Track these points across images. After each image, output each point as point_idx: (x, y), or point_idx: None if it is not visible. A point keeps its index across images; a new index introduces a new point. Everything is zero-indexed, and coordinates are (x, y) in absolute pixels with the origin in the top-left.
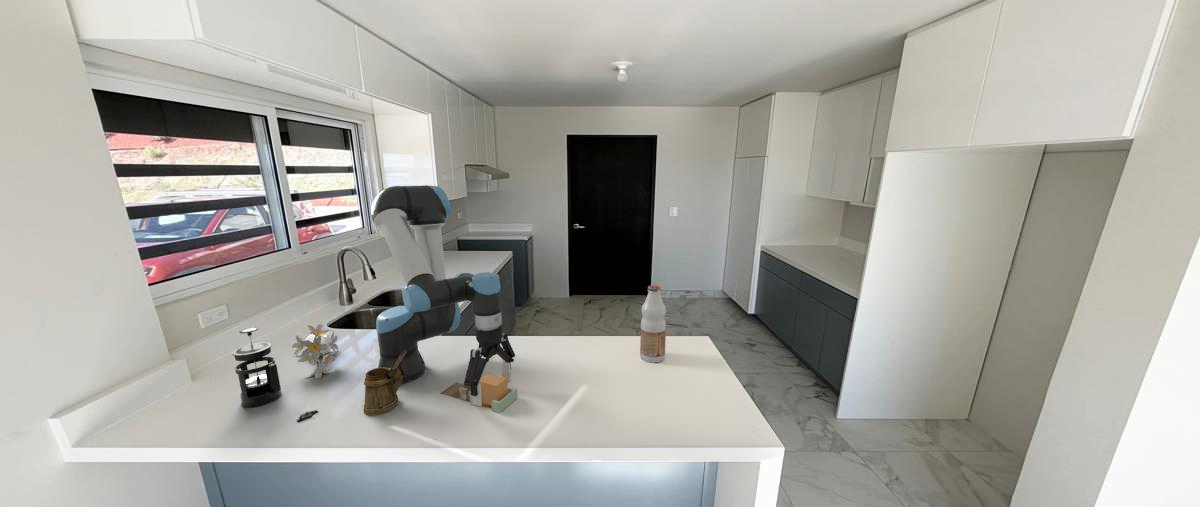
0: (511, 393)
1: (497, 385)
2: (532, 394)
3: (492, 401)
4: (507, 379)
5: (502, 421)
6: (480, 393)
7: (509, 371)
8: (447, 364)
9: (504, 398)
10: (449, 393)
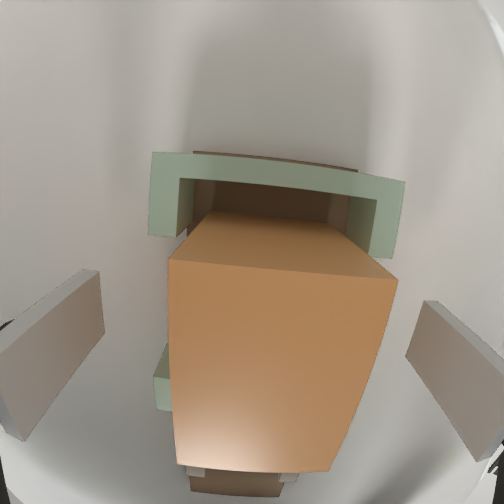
0: (240, 158)
1: (377, 277)
2: (95, 110)
3: (392, 250)
4: (89, 300)
5: (399, 140)
6: (477, 345)
7: (39, 313)
8: None
9: (332, 177)
10: (269, 480)
